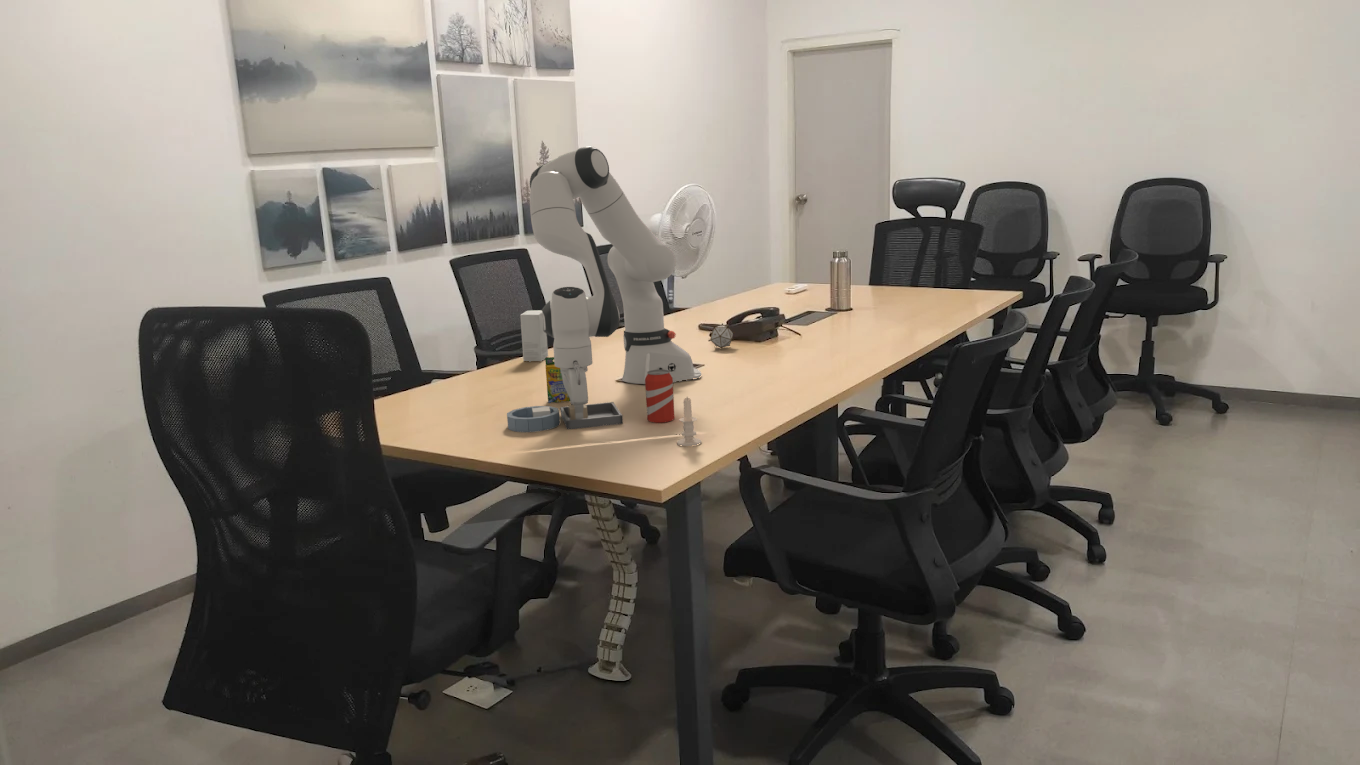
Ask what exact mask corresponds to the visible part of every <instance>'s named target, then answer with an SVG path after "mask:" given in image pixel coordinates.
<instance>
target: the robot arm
mask: <svg viewBox="0 0 1360 765" xmlns="http://www.w3.org/2000/svg"><path fill="white" fill-rule="evenodd" d="M609 166H610V165H609V161H608V160H607V158H606V156H605V154H604V153H603V152H602V151H601V150H600V149H598V148H596V147H594V146H592V145H590V146H583V147H579V148H578V149H577V150H573V151H570V152H569V151H568V152H566V153H564V154H562V155H559V156H557V158H555V159H552V160H551V161H549V162H547V163H545V164H544V165H543V164H542V165H540V166H538V167H537V168H536V169H535V170H533V172H532V173H531V175H530V179H529V189H530V191H529V192H530V193H529V208H530V209H529V210H530V211H529V212H530V220H531V227H532V228H531V229H532V232H533V236H534V238H535V240H536V242H537V243H538V244H539V245H540V246H541V247H542V248H544V249H546V250H547V251H549V252H551V253H554V254H557V255H561V256H564V257H568V258H571V259H572V260H575V261H577V262H578V263H580V264H581V265H582V266H583V267H584V269H585V272H586V275H587V278H588V282H589V284H590V287H591V291H592V296H586V293H585V291H584V289H582V288H580V287H575V286H564V287H559V288H557V289H555V290H553V291H552V293H551V300H549V301H548V302H546V304H545V305H544V306H543V307H542V308H541V310H542V312H543V320H544V328H543V331H544V332H545V333H546V334H547V336H549V337H551V338H553V343H552V344H553V346H552V348H553V357H554V360H553V362H555V366H556V367H558V368H560V369H561V370H560V371H561V374H562V379H563V384H564V387H565V389H566V391H567V393H568V395H569V398H570V401H569V402H570V405H574V408H575V418H576V419H583V408H584V404H586V405H587V404H588V403H589V396H588V395H589V393H588V381H587V374H586V373H587V372H588V370H589V369H588V366H591V365H592V364H593V351H592V350H593V348H592V340H591V338H592V337H595V338H608V337H611V335H613V334H614V333H615V332H616V330H618V329H619V326H620V321H621V320H620V318H621V317H620V316H621V315H620V311H619V308H618V304H617V303H616V300H615V297H614V296H613V292H612V290H611V287H610V284H609V281H608V277H607V274H606V272H605V268H604V263H603V262H602V259H601V255H600V252H599V250H598V246H597V244H596V242H595V240H594V238H593V236H592V235H591V234H590V233H588V232H586V231H585V230H584V229H583V228H582V226H581V225H580V224H579V221H578V218H577V212H576V205H575V201H574V199H578V198H579V199H580V202H581V203H582V205H583V207H584V209H585V211H586V213H587V214H588V215H589V217H590V219H591V220H592V222H593V224H594V225H595V227H596V228H597V230H598V232H599V233H600V235H601V236H602V238H603V239H604V240H606V241H607V242H609V244H610V245H612V247H610V248H609V251H608V253H607V265H608V268H609V270H611V272H612V273H613V275H614V277H615V280H616V283H617V286H618V289H619V293H620V296H621V300H622V305H623V318H624V320H623V321H624V330H623V348H624V351H625V359H624V370H623V374H622V378H621V380H622V381H623V382H625V383H628V384H640V385H645V378H646V376H647V372H648V371H651V370H660V369H663V370H669V371H670V372H669V373H670V375H671V376H672V378H673V383H677V382H676V381H679V382H683V381H682V380H686V381H688V380H687V379H693V378H699V377H700V376H701V375H702V372H701V370H699V369H698V368H695V367H694V364H693V359H692V357H691V355H690V353H688V351H686V350H685V349H683V348H682V347H680V346H679V345H677V344H676V343H675V342H673V341H672V340H673V339H675V338H676V336H677V333H676V332H675V331H673V330H669V329H667V328H665V319H664V318H665V317H664V303H663V299H662V297H661V296H660V295H659V293H658V292H657V289H656V287H655V286H656V285H655V282H660V281H663V280H666V279H668V278H669V277H670V276H672V274H673V273H674V271H675V268H676V265H677V264H676V262H677V261H676V256H675V255H676V254H675V253H674V251H673V250H672V249H671V248H670V247H668V246H667V245H666V244H665V243H663V242H662V241H661V240H660V239H659V238H658V237H657V236H656V234H654V232H652V230H651V229H650V228H649V227H648V225H647V224H645V223H644V222H643V220H642V219H641V218H640V216H639V215H638V214H637V212H636V211H635V209H634V207H633V206H632V204H631V202H630V201H629V199H628V198H627V196H626V194H625V192H624V191H623V189H622V188H621V186H620V184H619V183H618V182H617V180H616V179H615V178H614V176H613V175H612V173H611V172H610V167H609ZM590 337H591V338H590ZM699 379H700V378H699ZM693 380H694V379H693Z"/></svg>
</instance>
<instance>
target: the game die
mask: <svg viewBox="0 0 1360 765" xmlns="http://www.w3.org/2000/svg"><path fill="white" fill-rule="evenodd" d="M712 327H713V329H712V332H711V331H710V332H709V334H710V339H708V340H707V341H708V342H711V343H712V344H713V345H714V346H716V348H717V347H718V348H722V349H723V348H726V347H729V346H731V344H732V342H734V341H735V340H734V339H733V337H734V334H736V332H735V331H732V330H731V329H730V328H729V327H730V325H729V324H728V325H724V323H723V322H722V323H721V325H719V326H718V325H717V326H715V325H712Z"/></svg>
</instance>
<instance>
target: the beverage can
mask: <svg viewBox="0 0 1360 765" xmlns="http://www.w3.org/2000/svg"><path fill="white" fill-rule="evenodd" d="M669 372H670V371H669V370H663V369H660V370H651V371H648V372H647V376H646V378H645V384H644V385H645V402H646V418H647V421H648V422H651V423H655V424H660V423H661V424H663V423H664V424H665V423H668V422H671V421H673V420H675V418H676V417H675V403H674V402H675V400H674V384H673V383H674V382H673V378H672V376H671V375H670V373H669Z"/></svg>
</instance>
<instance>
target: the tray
mask: <svg viewBox="0 0 1360 765" xmlns="http://www.w3.org/2000/svg"><path fill="white" fill-rule="evenodd" d="M586 406H587V413H588V418H585V419H575V420H569V408H568V405H567V406H560V409H559V411H560V418H562V421H563V423H564V426H565V428H566V430H577V429H587V428H595V427H606V426H607V427H608V426H615V425H616V426H617V425H623V424H624V418H623V414H622V412H621V411H620V409H619V408H618V407H617V405H616V404H615V402H614V401H611V402H610V401H609V402H608V401H607V402H600V403H589V404H588V403H587V404H586Z"/></svg>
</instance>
